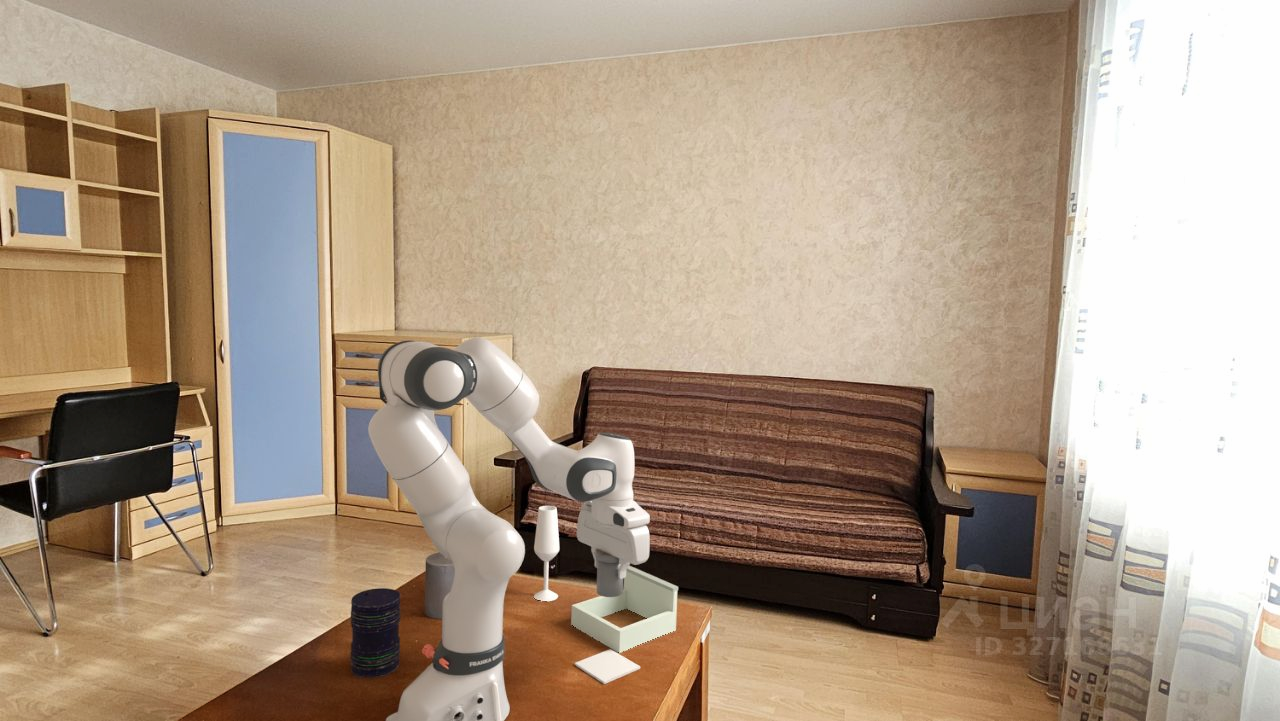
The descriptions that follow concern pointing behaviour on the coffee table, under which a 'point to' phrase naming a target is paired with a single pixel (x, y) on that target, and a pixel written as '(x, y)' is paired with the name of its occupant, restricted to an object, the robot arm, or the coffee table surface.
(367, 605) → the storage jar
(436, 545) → the robot arm
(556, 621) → the coffee table surface
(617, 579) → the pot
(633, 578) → the frame
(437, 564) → the pillar candle
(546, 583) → the champagne flute
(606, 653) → the mat
